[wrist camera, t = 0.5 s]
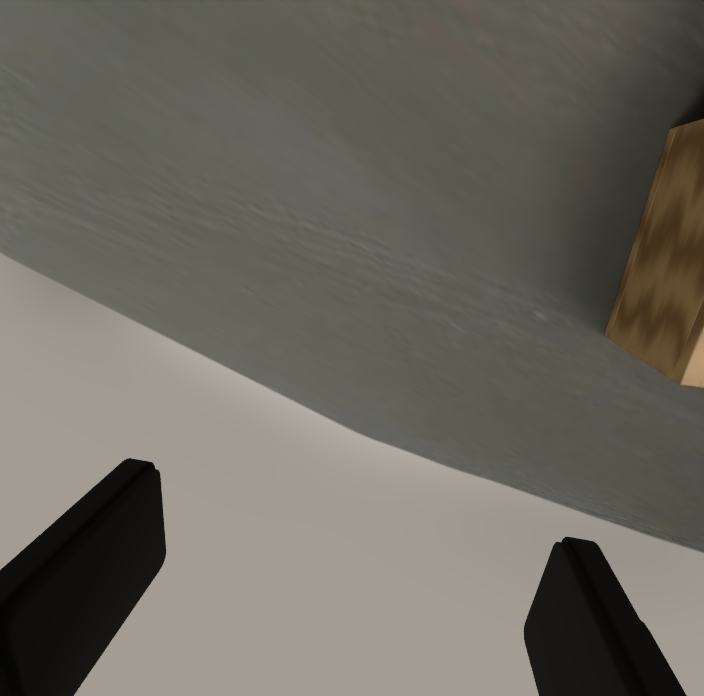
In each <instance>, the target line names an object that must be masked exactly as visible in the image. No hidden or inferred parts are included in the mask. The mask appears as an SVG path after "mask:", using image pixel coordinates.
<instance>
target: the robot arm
mask: <svg viewBox="0 0 704 696" xmlns="http://www.w3.org/2000/svg"><path fill="white" fill-rule="evenodd" d="M165 556H166V544H165V531H164V518H163V505H162V492H161V478H160V472H159V471H158V470H156V469H155V466H154V464H153V463H152V462H148V461H142V460H136V459H131V458H129V459H126V460H124V461H123V462H122V463H120V464H119V465H118V466H117V467H116V468H115V469H114V470H113V471H111V472H110V473H109V474H108V475H107V476H106V477H105V478H104V479H103V480H101V481H100V482H99V483H98V484H97V485H96V486H95V487H93V488H92V489H91V490H90V491H89V492H88V493H87V494H86V495H84V496H83V497H82V498H81V499H80V500H79V501H78V502H77V503H75V504H74V505H73V506H72V507H71V508H70V509H69V510H68V511H66V512H65V513H64V514H63V515H62V516H61V517H60V518H58V519H57V520H56V521H55V522H54V523H53V524H52V525H51V526H49V528H47V529H46V530H45V531H44V532H43V533H42V534H41V535H39V536H38V537H37V538H36V539H35V540H34V541H33V542H31V543H30V544H29V545H28V546H27V547H26V548H25V549H24V550H23V551H21V552H20V553H19V554H18V555H17V556H16V557H15V558H14V559H12V560H11V561H10V562H9V563H8V564H7V565H6V566H4V567H3V568H2V569H1V570H0V696H74V694H75V693H76V691H77V690H78V688H79V687H80V686H81V684H82V682H83V681H84V680H85V678H86V677H87V675H88V674H89V672H90V671H91V669H92V668H93V667H94V665H95V664H96V662H97V661H98V659H99V658H100V656H101V655H102V653H103V652H104V651H105V649H106V648H107V646H108V645H109V643H110V642H111V640H112V638H113V637H114V636H115V634H116V633H117V632H118V630H119V629H120V627H121V626H122V624H123V623H124V621H125V620H126V618H127V617H128V616H129V614H130V613H131V611H132V610H133V608H134V607H135V605H136V604H137V602H138V601H139V600H140V598H141V597H142V595H143V593H144V592H145V591H146V589H147V588H148V586H149V585H150V584H151V582H152V581H153V579H154V578H155V576H156V575H157V573H158V572H159V570H160V569H161V567H162V565H163V563H164V560H165ZM524 640H525V645H526V648H527V652H528V656H529V660H530V664H531V667H532V671H533V675H534V678H535V682H536V686H537V689H538V693H539V696H686V694H685V692H684V690H683V689H682V687H681V685H680V684H679V682H678V680H677V678H676V676H675V675H674V673H673V671H672V669H671V668H670V666H669V664H668V662H667V661H666V659H665V657H664V655H663V654H662V652H661V650H660V648H659V647H658V645H657V643H656V641H655V640H654V638H653V636H652V634H651V633H650V631H649V630H648V628H647V627H646V625H645V624H644V623H643V622H642V621H641V620H640V619H639V617H638V615H637V613H636V612H635V610H634V608H633V607H632V604H631V603H630V601H629V599H628V597H627V596H626V594H625V592H624V590H623V588H622V587H621V585H620V583H619V581H618V580H617V578H616V576H615V574H614V572H613V571H612V569H611V567H610V565H609V564H608V562H607V560H606V558H605V556H604V555H603V553H602V551H601V549H600V548H599V546H598V545H597V544H596V543H595V542H593V541H588V540H583V539H577V538H572V537H565V538H564V539H563V540H562V542H561V543H560V542H556V543H555V544H554V546H553V548H552V551H551V554H550V556H549V559H548V562H547V565H546V568H545V570H544V573H543V575H542V578H541V581H540V584H539V587H538V589H537V592H536V595H535V597H534V600H533V603H532V605H531V608H530V611H529V614H528V616H527V619H526V622H525V625H524Z"/></svg>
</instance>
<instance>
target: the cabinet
mask: <svg viewBox="0 0 704 696" xmlns="http://www.w3.org/2000/svg"><path fill="white" fill-rule="evenodd" d="M604 336H606V337H607V338H609V339H610V340H612V341H613V342H615V343H616V344H618V345H619V346H621V347H622V348H624V349H625V350H627V351H628V352H630V353H632V354H633V355H635V356H636V357H638V358H639V359H641V360H642V361H644V362H645V363H647V364H648V365H650V366H651V367H653V368H654V369H656V370H658V371H659V372H661V373H662V374H664V375H665V376H667V377H668V378H670V379H672V380H673V381H675V382H676V383H678V384H679V385H685V386H693V387H701V388H704V119H701V120H698V121H694V122H691V123H688V124H685V125H681V126H678V127H675V128H671V129H670V130H669V134H668V137H667V140H666V143H665V146H664V149H663V152H662V156H661V159H660V162H659V165H658V168H657V171H656V174H655V178H654V181H653V184H652V187H651V190H650V193H649V196H648V200H647V203H646V206H645V209H644V212H643V215H642V218H641V222H640V225H639V228H638V231H637V234H636V237H635V240H634V244H633V247H632V250H631V253H630V256H629V259H628V262H627V266H626V269H625V272H624V275H623V278H622V281H621V285H620V288H619V291H618V294H617V297H616V300H615V303H614V307H613V310H612V313H611V316H610V319H609V322H608V325H607V329H606V332H605V335H604Z"/></svg>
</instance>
